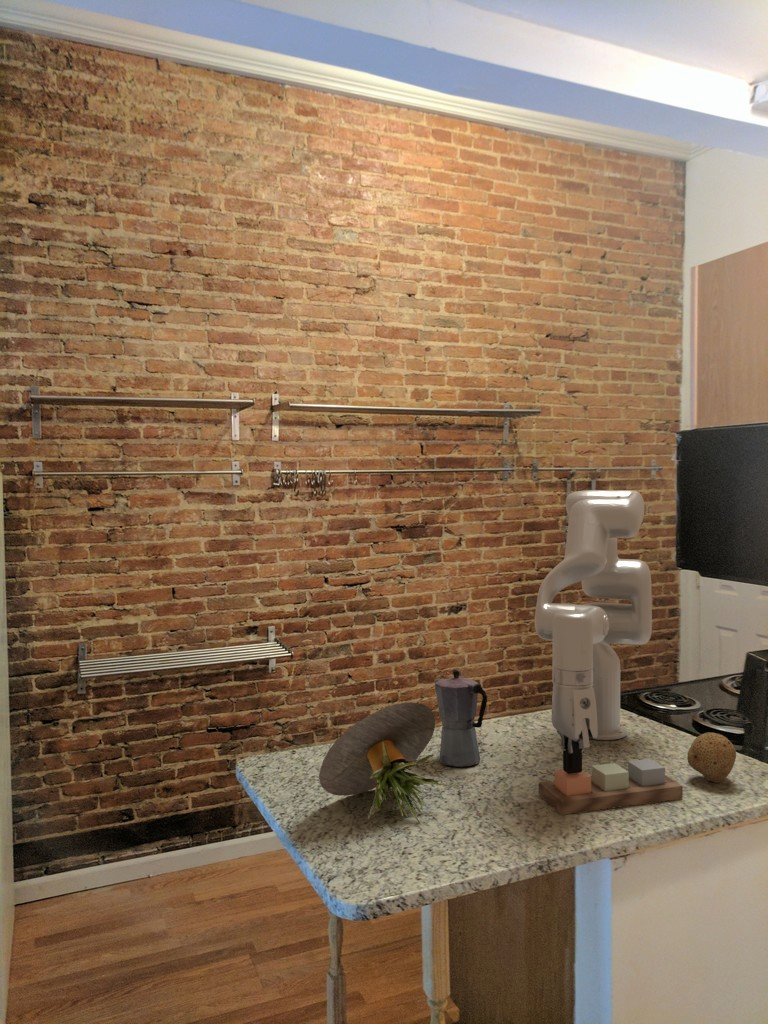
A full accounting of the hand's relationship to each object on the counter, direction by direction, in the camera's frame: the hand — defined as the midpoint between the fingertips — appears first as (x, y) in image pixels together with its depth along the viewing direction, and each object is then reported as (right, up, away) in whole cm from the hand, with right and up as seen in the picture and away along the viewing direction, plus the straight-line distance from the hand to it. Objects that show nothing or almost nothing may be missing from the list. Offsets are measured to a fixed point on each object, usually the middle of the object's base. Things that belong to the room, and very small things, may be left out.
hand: (572, 771), depth 150 cm
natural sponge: (+30, -5, +10) cm, 32 cm away
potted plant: (-36, -7, -2) cm, 36 cm away
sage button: (+8, -4, +3) cm, 9 cm away
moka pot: (-19, -5, +22) cm, 30 cm away
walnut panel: (+8, -6, +3) cm, 10 cm away
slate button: (+16, -4, +5) cm, 17 cm away
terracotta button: (0, -4, 0) cm, 5 cm away
